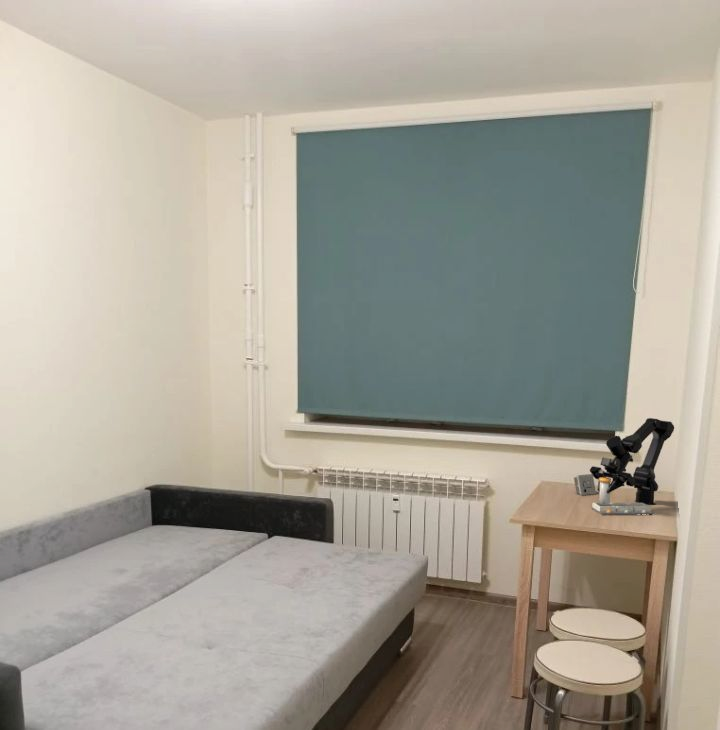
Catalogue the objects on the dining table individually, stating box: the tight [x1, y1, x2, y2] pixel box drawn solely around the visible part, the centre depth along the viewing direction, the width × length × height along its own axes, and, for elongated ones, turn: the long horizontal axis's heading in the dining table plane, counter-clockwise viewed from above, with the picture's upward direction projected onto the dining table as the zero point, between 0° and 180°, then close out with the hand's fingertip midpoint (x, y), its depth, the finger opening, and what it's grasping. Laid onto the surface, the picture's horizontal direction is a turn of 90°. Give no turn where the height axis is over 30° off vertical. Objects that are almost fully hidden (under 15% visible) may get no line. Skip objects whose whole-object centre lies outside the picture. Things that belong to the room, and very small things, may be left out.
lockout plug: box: [598, 477, 612, 506], centre depth 276 cm, size 5×5×12 cm
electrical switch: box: [573, 473, 597, 496], centre depth 309 cm, size 9×5×9 cm, turn 116°
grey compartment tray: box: [591, 502, 655, 516], centre depth 276 cm, size 22×10×3 cm, turn 95°
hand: (602, 491), depth 275 cm, fingers closed on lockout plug, 4 cm apart
